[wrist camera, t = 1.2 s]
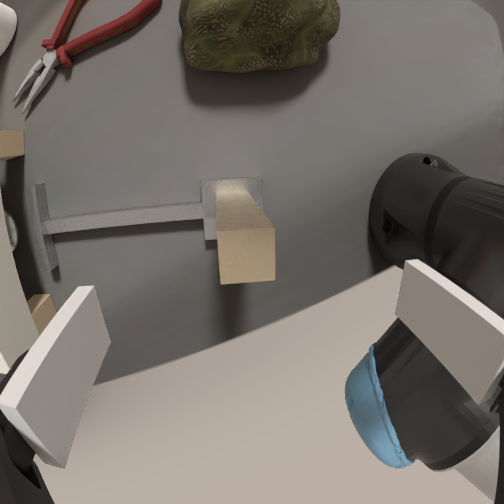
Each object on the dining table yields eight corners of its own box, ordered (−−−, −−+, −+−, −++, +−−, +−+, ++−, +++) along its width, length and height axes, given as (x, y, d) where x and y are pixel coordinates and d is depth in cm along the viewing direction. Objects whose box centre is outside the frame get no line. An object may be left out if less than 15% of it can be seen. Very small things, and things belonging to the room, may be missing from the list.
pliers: (3, 86, 22) (-8, 84, 19) (111, -33, 19) (106, -42, 16) (46, 133, 25) (35, 133, 23) (168, 3, 22) (165, -7, 20)
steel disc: (24, 222, 28) (20, 224, 27) (15, 260, 29) (11, 263, 28) (-5, 201, 26) (-9, 202, 25) (-13, 239, 28) (-17, 241, 27)
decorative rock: (308, 99, 29) (350, 95, 20) (165, 70, 25) (151, 50, 16) (332, -5, 23) (375, -34, 14) (200, -38, 19) (203, -84, 10)
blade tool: (259, 157, 29) (299, 165, 15) (261, 249, 33) (296, 325, 19) (36, 184, 27) (-51, 215, 13) (51, 264, 30) (-17, 329, 16)
